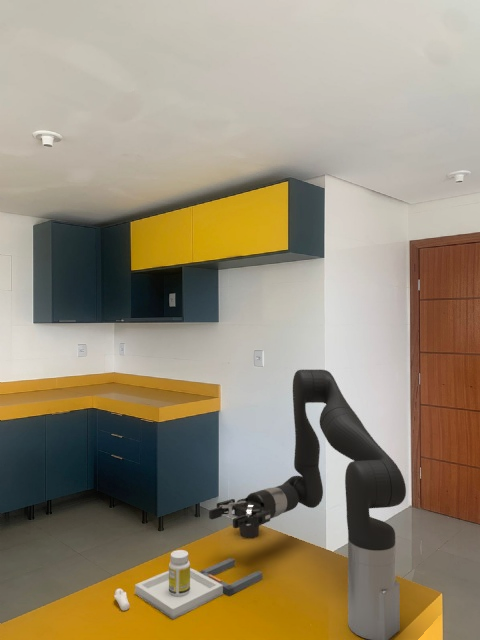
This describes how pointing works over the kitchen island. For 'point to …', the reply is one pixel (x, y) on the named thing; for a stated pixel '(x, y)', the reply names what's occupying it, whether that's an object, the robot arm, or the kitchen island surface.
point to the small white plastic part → (121, 599)
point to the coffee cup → (248, 529)
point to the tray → (176, 606)
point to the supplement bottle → (179, 573)
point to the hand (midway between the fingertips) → (221, 519)
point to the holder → (236, 585)
